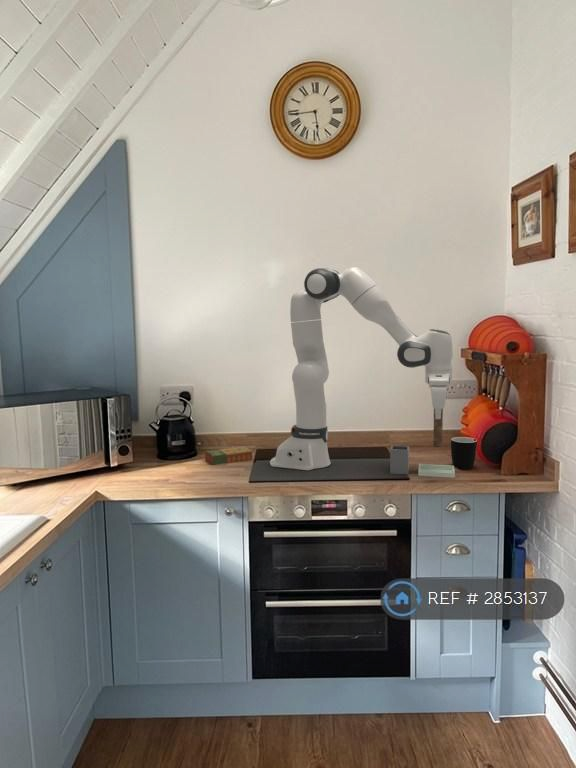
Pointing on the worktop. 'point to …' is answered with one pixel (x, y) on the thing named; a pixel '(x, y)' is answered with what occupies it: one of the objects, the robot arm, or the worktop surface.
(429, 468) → the tray
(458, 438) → the mug
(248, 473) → the worktop surface
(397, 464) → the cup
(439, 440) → the dowel
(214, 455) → the carton
